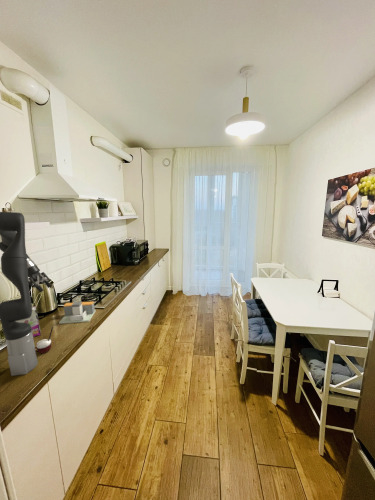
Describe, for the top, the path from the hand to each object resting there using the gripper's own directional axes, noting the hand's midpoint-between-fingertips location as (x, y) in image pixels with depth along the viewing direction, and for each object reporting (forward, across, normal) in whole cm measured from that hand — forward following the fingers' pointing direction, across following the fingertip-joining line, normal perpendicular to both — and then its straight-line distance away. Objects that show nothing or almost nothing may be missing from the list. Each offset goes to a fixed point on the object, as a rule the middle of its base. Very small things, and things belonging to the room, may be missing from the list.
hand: (46, 289), depth 127 cm
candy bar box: (+18, -12, +17) cm, 28 cm away
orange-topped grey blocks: (+27, +8, 0) cm, 28 cm away
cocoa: (+27, -25, +4) cm, 37 cm away
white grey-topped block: (+26, +6, -2) cm, 27 cm away
